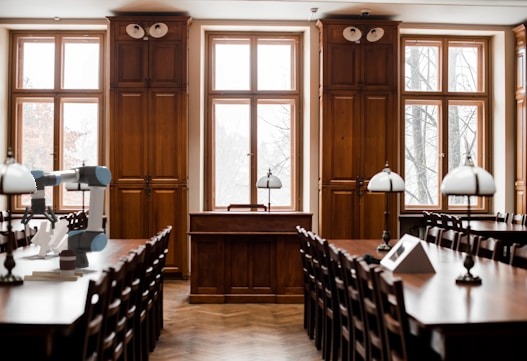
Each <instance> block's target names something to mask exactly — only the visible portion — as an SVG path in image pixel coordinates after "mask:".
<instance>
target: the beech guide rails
mask: <svg viewBox="0 0 527 361" xmlns="http://www.w3.org/2000/svg"><path fill="white" fill-rule="evenodd" d="M59 275H60V270H59V271H55V270H54V271H51V270H49V271H48V270H47V271H45V270H44V271H40V270H39V271H38V270H35V271H32V273H31V274H29V275H28V274H25V275H24V276H23V277H24V278H23V281H59V282H60V281H61V282H62V281H63V282H65V281H67V282H68V281H69V282H70V281H71V282H72V281H73V282H75V281H79V280H78V279H79V278H78V276H81V277H84V271H74V276H59Z"/></svg>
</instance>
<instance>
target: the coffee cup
mask: <svg viewBox="0 0 527 361" xmlns="http://www.w3.org/2000/svg"><path fill="white" fill-rule="evenodd" d="M57 255H58V257H59V259H58V260H59V272H60V276H74V272H76V271H75V270H76V268H75V265H76V256H77V253H75V251H74V250H62V251H61V252H60V253H57Z"/></svg>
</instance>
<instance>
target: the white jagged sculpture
mask: <svg viewBox="0 0 527 361" xmlns="http://www.w3.org/2000/svg"><path fill="white" fill-rule="evenodd" d="M57 219H58V222H56V223H55V229H53V231H54V235H50V224H51V222H50V221H49V220H47V221H41V222H40V226H39V228H38V230H37V232H36V233H35V234H34V236H33V237H32V238H31V240H30V242H31V243H32V244H33V245H38V246H39V247H40V248H39V251H38V255H37V258H41V259H45V257H46V255H47V254H49V253H54V254H55V255H56V254H59V253H61V251H62V250H67V243H68V231H69V230H70V229H69V227H68V225H69V224H70V223H69V221H68V220H67V219H66V218H63V219H60V218H57Z"/></svg>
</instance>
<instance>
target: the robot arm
mask: <svg viewBox="0 0 527 361" xmlns="http://www.w3.org/2000/svg"><path fill="white" fill-rule="evenodd" d="M30 172H31V174H32V175H33V177H34V179H35V182H36V186H37V187H36V188H37V192H36V193H35V192H34V194H31V193H30V198H31V199H30V205H31V206H26V207H25V211H24V213H23V215H22V217H21V220H20V225H21V224H22V225H23V227H24V231H25V235H26V236H25V237H29V236H31V235H30V234H31V233H30V232H31V231H30V224H29V223H30V221H31V220H32V218H34V216H36V215H37V216H38V215H43V216H44V217H45V218H46V219H47V221H48V222H49V223H50V235H54V231H53V229H55V223H56V222H58V218H57V215H56V214H55V213H54V210H53V207H52V205H48V206H47V204H46V198H45V197H46V190H45V188H46V187H57V186H59V185H61V184H62V183H63V184H65V183H71V184H84V185H87V188H88V189H89V201H88V204H89V206H88V220H87V227H86V229H82V230H81V229H80V230H70V231H69V232H67V234H68V243H67V250H74V251H75V253H77V256H76V265H75V269H79V268H80V269H81V268H82V269H83V268H88V267H89V266H90V264H89V263H90V262H89V259H88V256H87V252H92V253H96V252H97V253H99V252H102V251H103V250H105V248H107V245H108V241H109V240H108V236H107V234H105V230H104V228H103V216H104V213H103V212H104V201H105V200H104V199H105V198H104V197H105V190H106V189H107V188H108V185H109V184H110V183H111V181H112V172H111V171H110V169H109V168H108V167H106V166H101V165H86V166H85V165H84V166H79V167H71V168H70V169H66V170H54V171H53V170H52V171H51V170H50V171H44V170H43V169H40V170H39V169H37V170H30V171H29V173H30ZM46 210H47V211H48V212H47V211H46ZM30 211H31V212H30ZM29 212H30V214H29Z"/></svg>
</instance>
